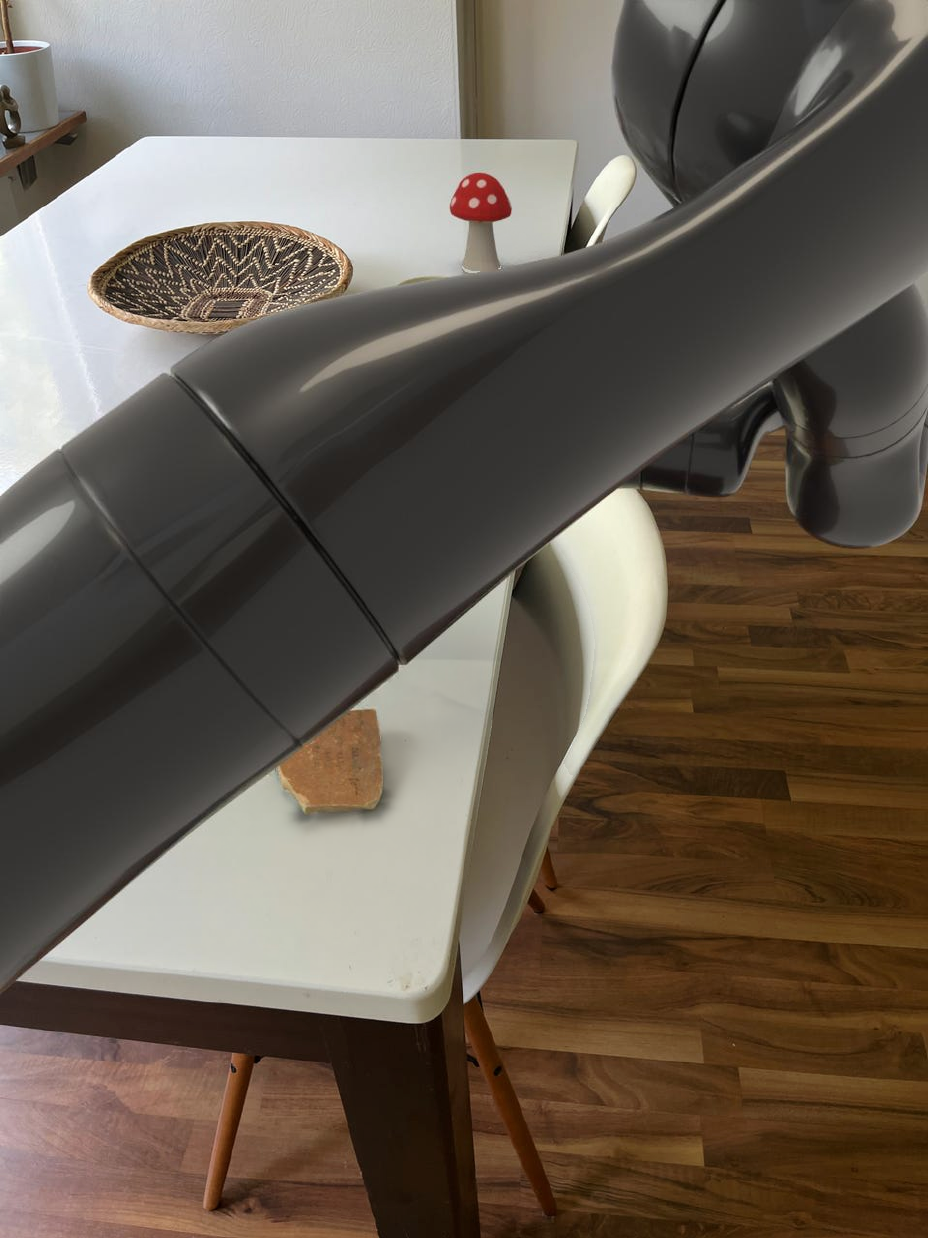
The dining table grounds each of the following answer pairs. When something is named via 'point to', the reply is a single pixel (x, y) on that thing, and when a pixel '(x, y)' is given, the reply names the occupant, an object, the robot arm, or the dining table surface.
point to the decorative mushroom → (480, 218)
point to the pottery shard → (338, 766)
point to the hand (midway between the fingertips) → (326, 395)
